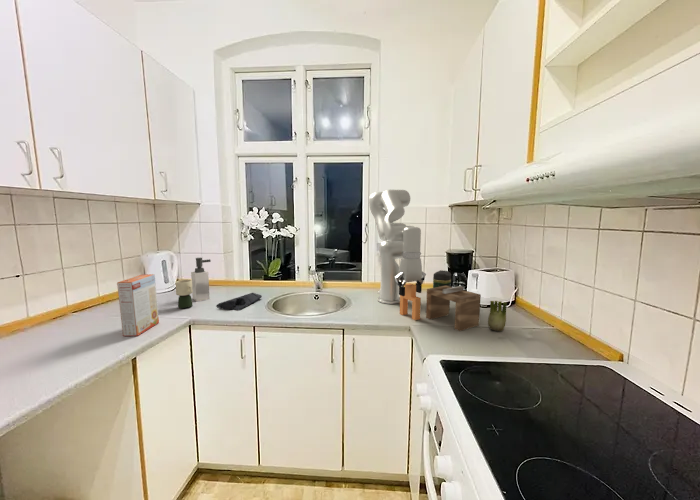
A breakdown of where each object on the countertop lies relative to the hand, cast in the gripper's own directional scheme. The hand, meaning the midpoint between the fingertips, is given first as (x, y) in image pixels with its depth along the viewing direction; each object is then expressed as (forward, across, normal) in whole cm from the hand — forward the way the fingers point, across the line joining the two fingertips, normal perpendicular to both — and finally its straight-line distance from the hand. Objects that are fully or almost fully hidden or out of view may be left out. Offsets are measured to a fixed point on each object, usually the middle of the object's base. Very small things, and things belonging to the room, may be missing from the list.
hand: (410, 293), depth 138 cm
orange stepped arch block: (+10, 0, 0) cm, 10 cm away
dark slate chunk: (+11, +59, -60) cm, 85 cm away
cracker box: (+11, +101, -44) cm, 110 cm away
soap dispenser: (+10, +74, -78) cm, 108 cm away
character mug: (+10, +84, -67) cm, 107 cm away
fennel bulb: (+11, -18, +30) cm, 37 cm away
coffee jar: (+11, -20, 0) cm, 23 cm away
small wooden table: (+10, -11, +14) cm, 21 cm away
